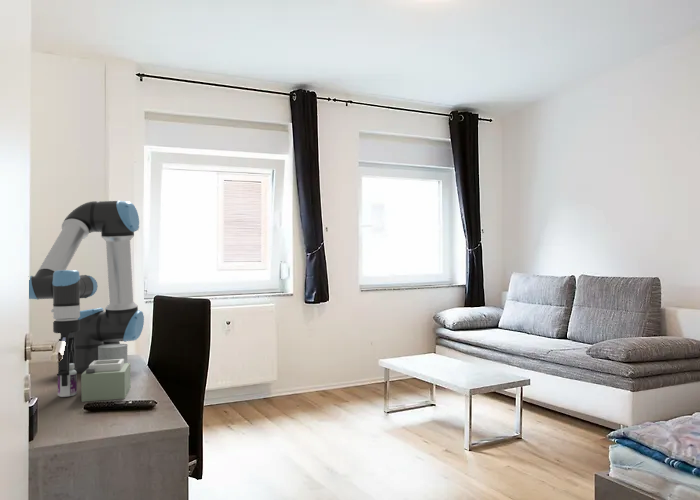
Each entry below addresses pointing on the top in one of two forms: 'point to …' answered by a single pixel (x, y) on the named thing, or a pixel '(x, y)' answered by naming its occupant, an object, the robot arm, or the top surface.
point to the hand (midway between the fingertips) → (67, 394)
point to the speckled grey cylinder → (113, 352)
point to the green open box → (106, 380)
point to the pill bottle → (72, 380)
